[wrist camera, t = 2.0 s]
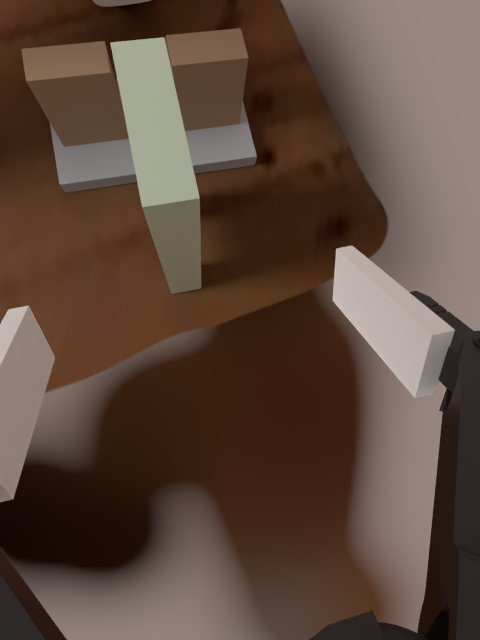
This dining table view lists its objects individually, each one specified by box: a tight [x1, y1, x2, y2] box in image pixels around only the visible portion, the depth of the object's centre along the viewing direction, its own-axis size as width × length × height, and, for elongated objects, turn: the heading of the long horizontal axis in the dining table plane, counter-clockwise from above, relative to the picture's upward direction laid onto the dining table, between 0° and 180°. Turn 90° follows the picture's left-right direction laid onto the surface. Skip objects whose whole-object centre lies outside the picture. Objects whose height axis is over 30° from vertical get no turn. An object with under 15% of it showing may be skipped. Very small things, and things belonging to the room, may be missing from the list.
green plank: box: [110, 37, 201, 294], centre depth 29 cm, size 3×10×18 cm, turn 13°
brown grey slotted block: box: [21, 28, 257, 193], centre depth 35 cm, size 20×11×10 cm, turn 103°
